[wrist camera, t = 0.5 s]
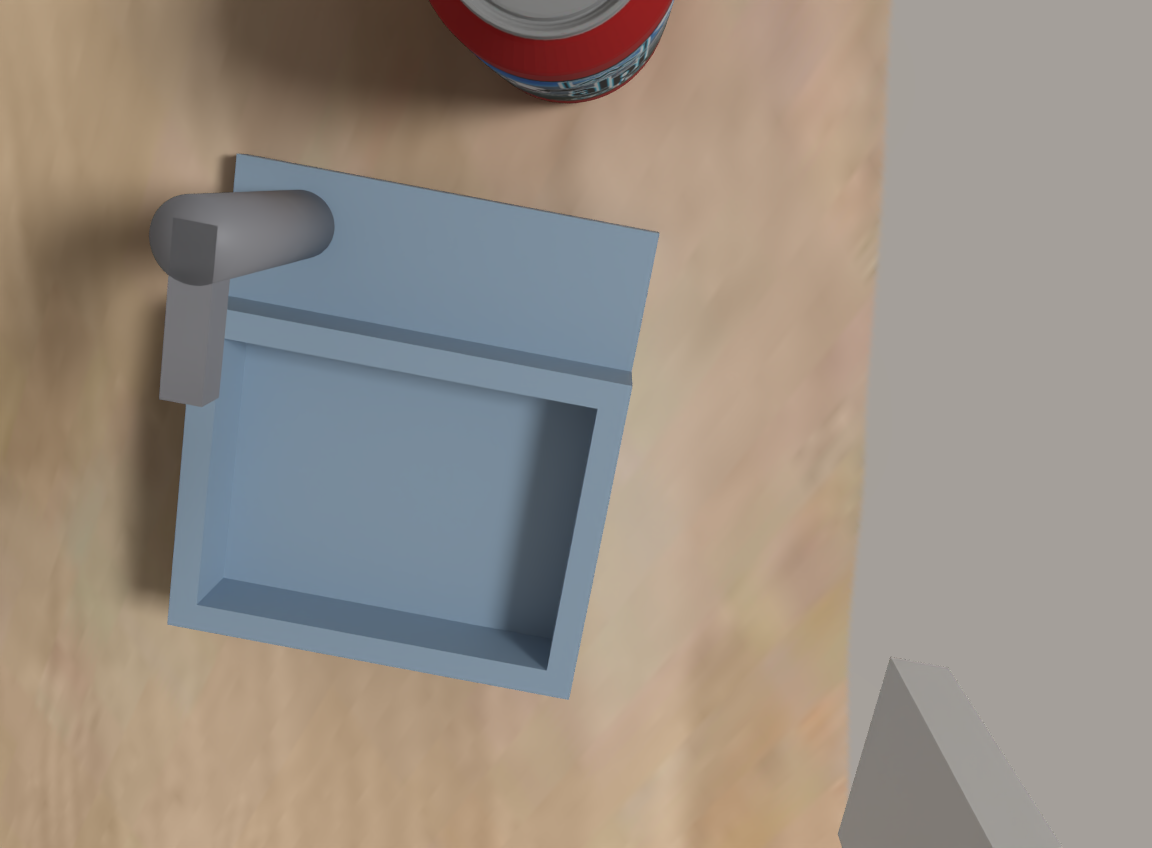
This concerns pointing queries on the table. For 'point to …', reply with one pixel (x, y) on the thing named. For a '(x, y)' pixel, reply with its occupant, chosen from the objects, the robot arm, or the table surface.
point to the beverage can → (559, 41)
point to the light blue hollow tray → (395, 418)
